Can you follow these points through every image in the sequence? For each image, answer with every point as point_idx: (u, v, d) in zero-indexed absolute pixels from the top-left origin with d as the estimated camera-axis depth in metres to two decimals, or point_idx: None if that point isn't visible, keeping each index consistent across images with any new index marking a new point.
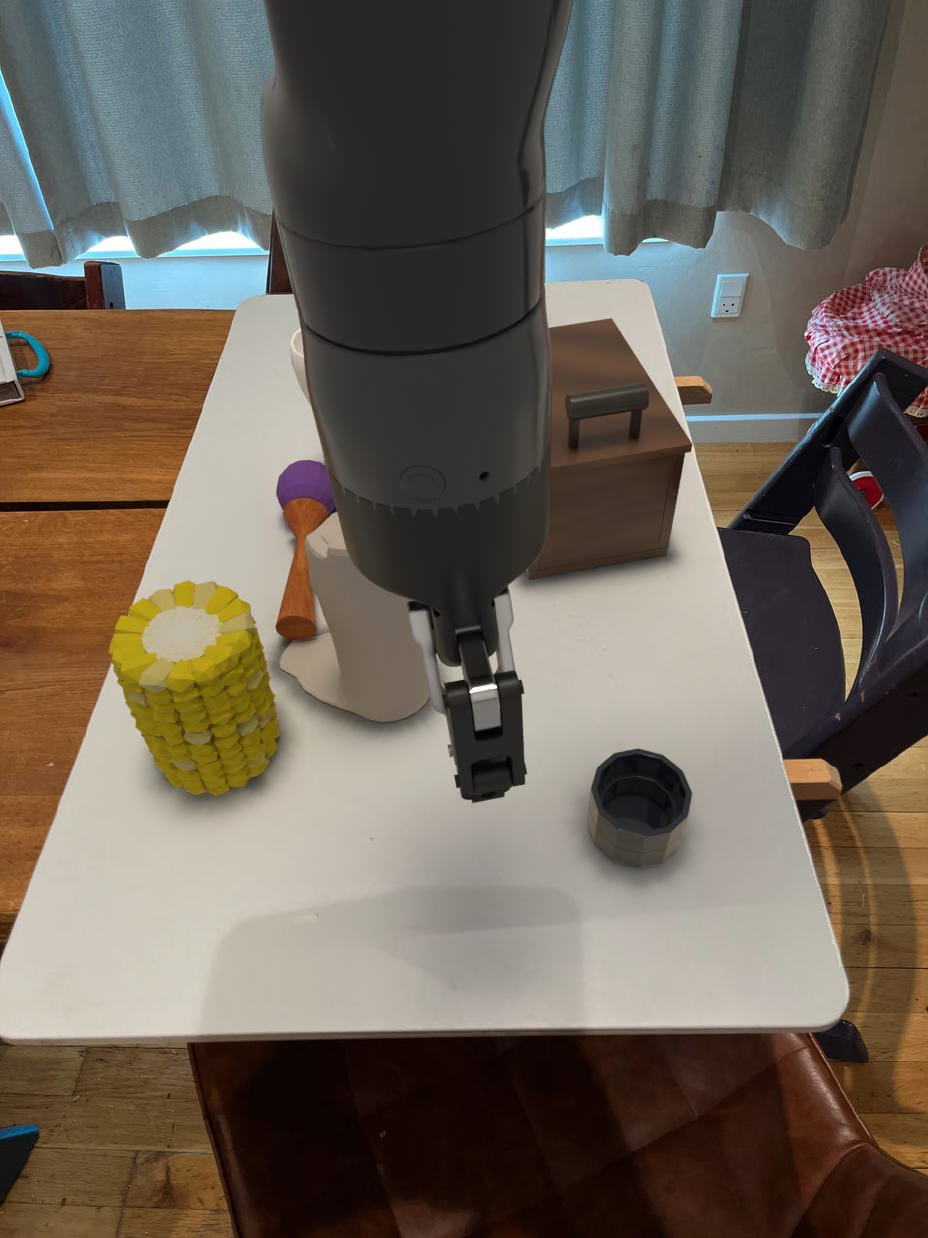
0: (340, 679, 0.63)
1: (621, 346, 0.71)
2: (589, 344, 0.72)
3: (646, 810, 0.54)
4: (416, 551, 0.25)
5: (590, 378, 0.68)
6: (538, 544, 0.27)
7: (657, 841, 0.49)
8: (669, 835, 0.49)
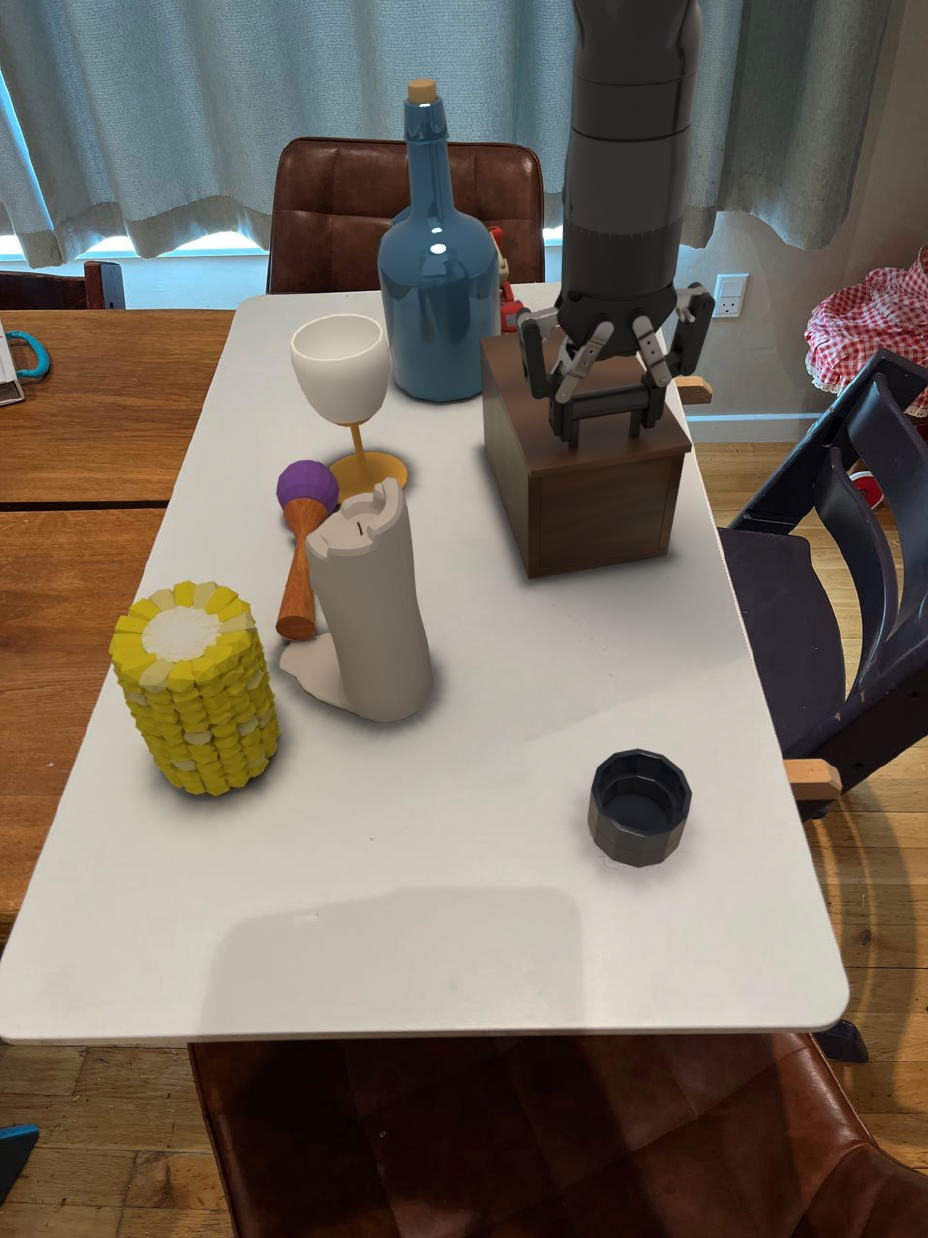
0: (340, 679, 0.63)
1: None
2: None
3: (646, 810, 0.54)
4: None
5: (590, 378, 0.68)
6: (595, 286, 0.50)
7: (657, 841, 0.49)
8: (669, 835, 0.49)
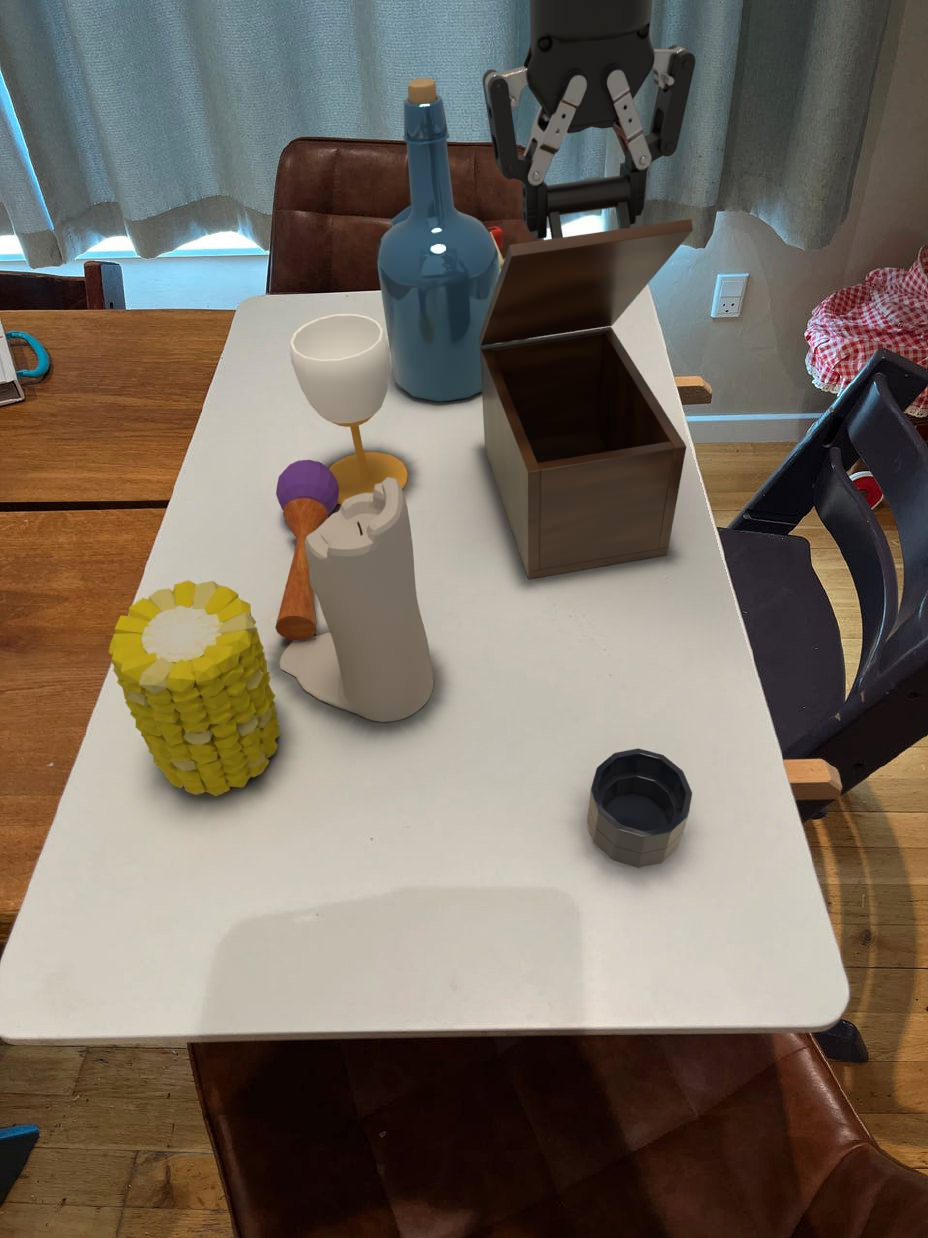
0: (340, 679, 0.63)
1: None
2: None
3: (646, 810, 0.54)
4: None
5: None
6: (564, 21, 0.46)
7: (657, 841, 0.49)
8: (669, 835, 0.49)
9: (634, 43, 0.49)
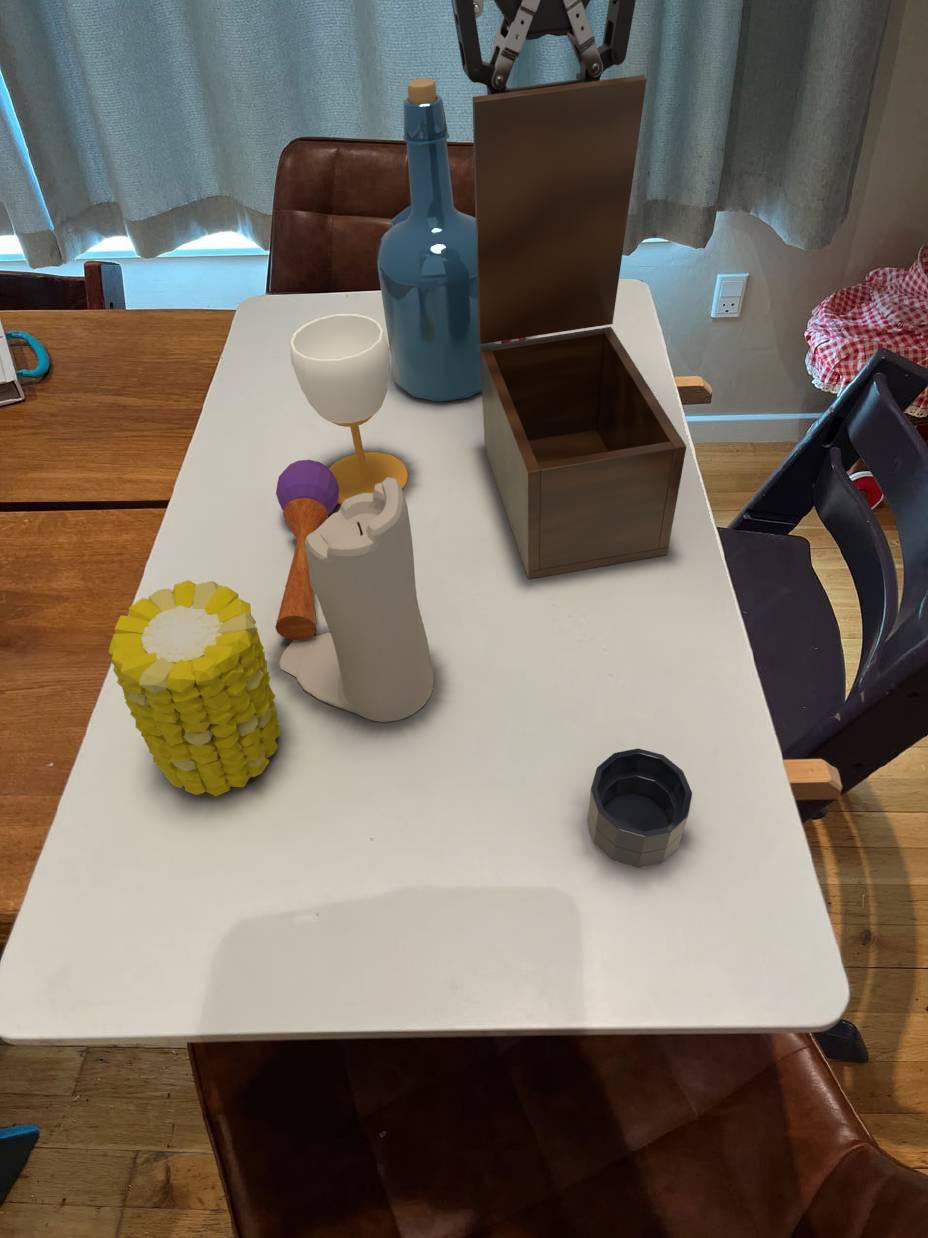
0: (340, 679, 0.63)
1: None
2: None
3: (646, 810, 0.54)
4: None
5: None
6: None
7: (657, 841, 0.49)
8: (669, 835, 0.49)
9: None
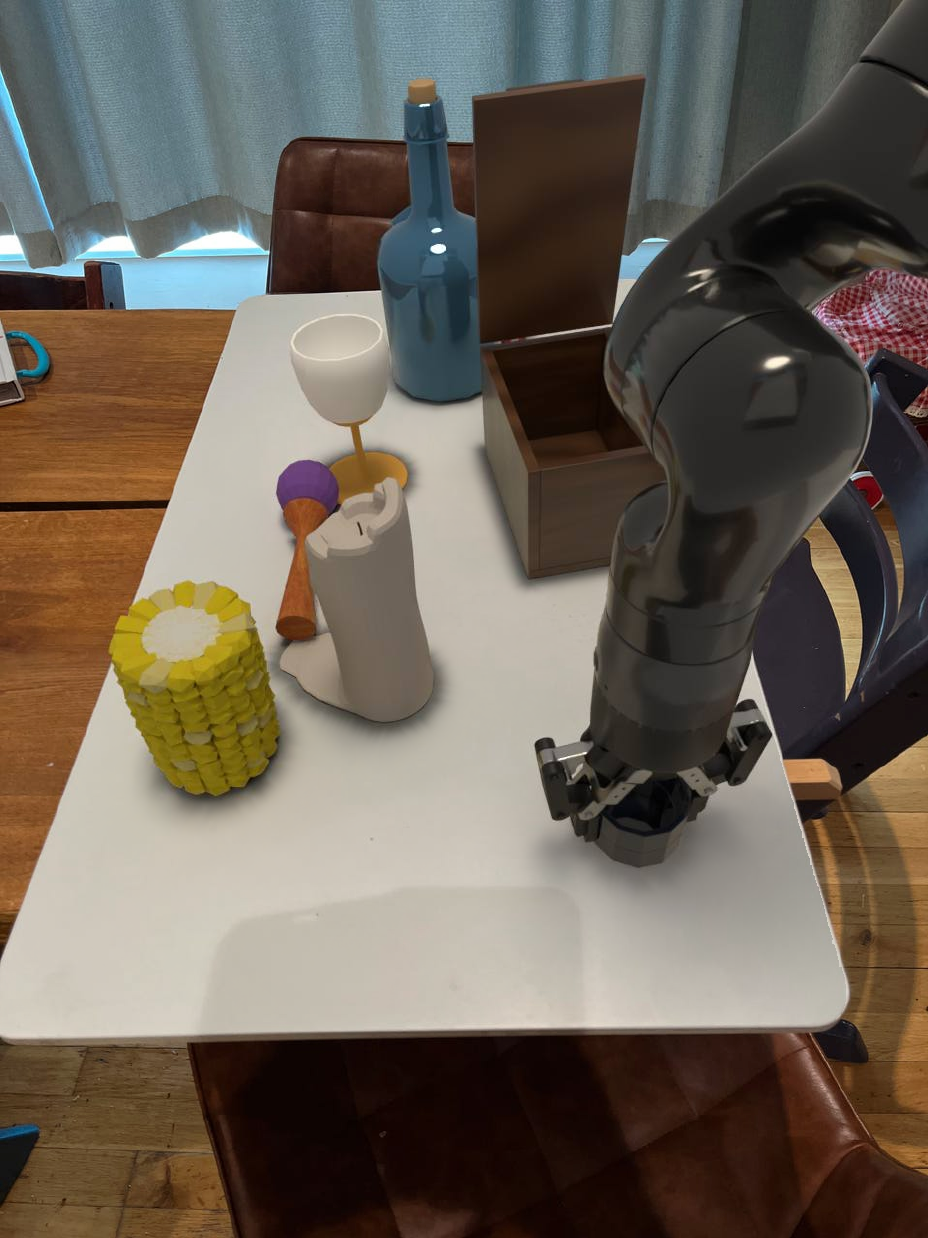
0: (340, 679, 0.63)
1: None
2: None
3: (646, 810, 0.54)
4: None
5: None
6: (632, 759, 0.41)
7: (657, 841, 0.49)
8: (669, 835, 0.49)
9: None
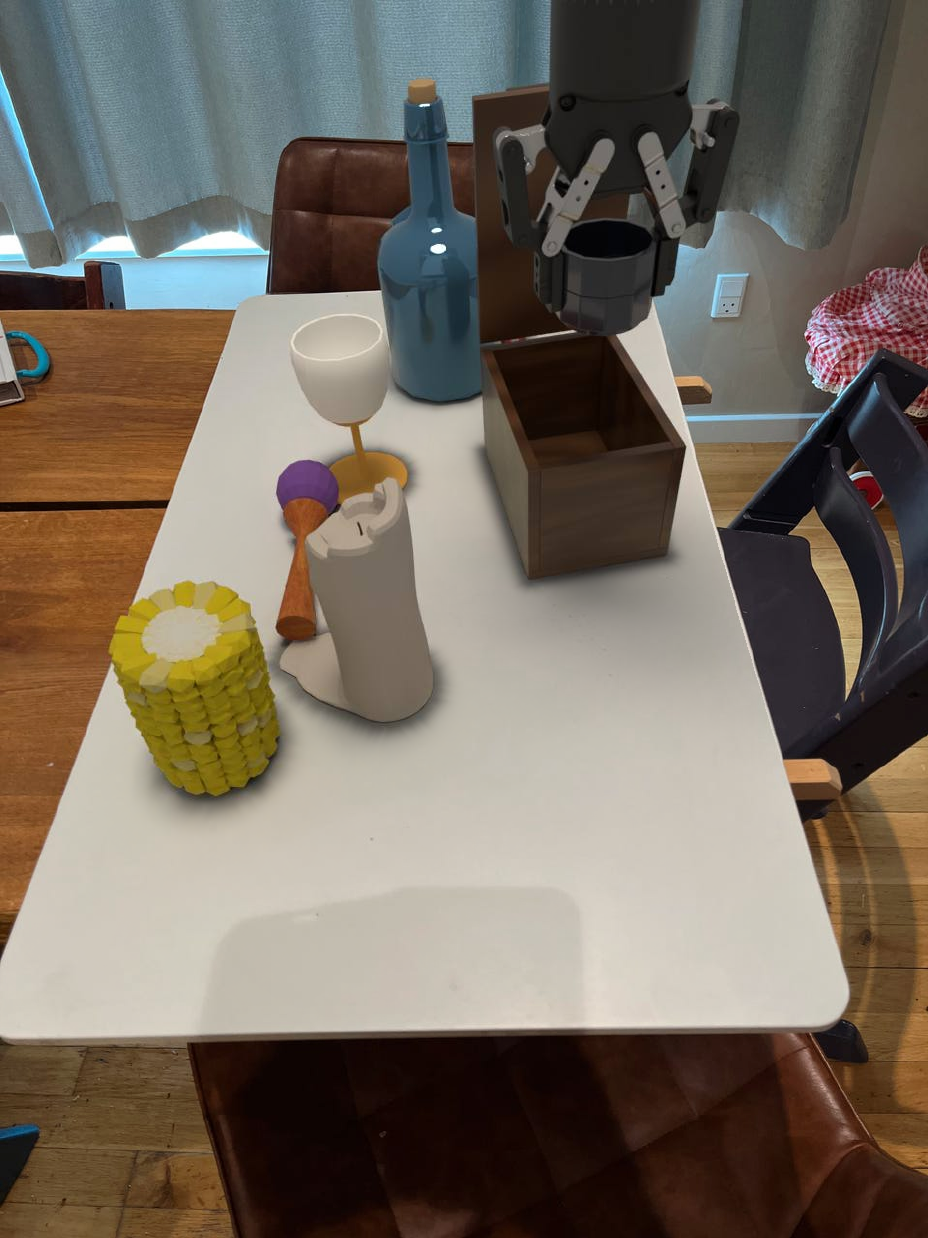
0: (340, 679, 0.63)
1: None
2: None
3: None
4: None
5: None
6: (592, 80, 0.39)
7: (623, 275, 0.47)
8: (636, 265, 0.47)
9: (670, 101, 0.42)
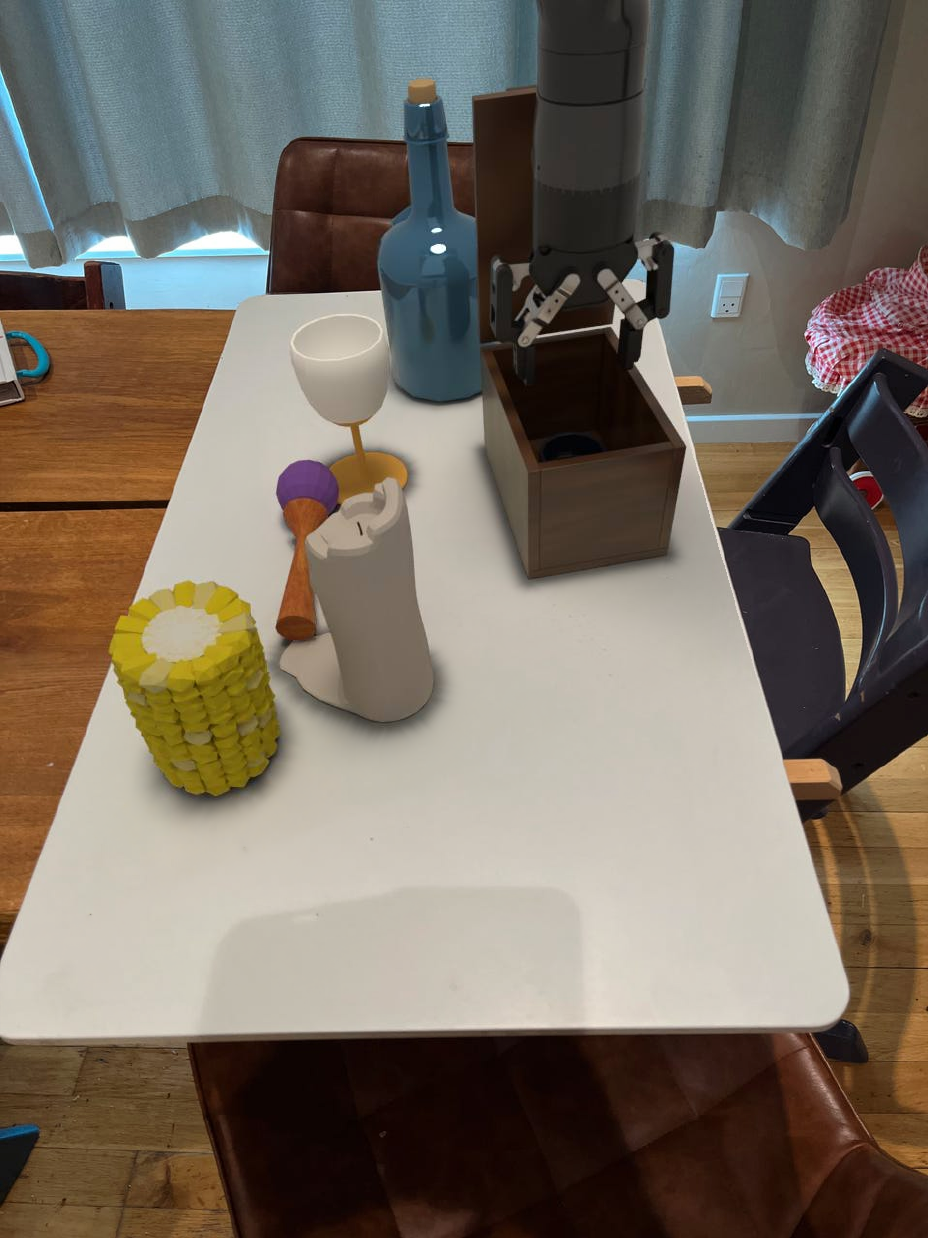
0: (340, 679, 0.63)
1: None
2: None
3: None
4: None
5: None
6: (561, 239, 0.55)
7: None
8: None
9: (618, 248, 0.58)
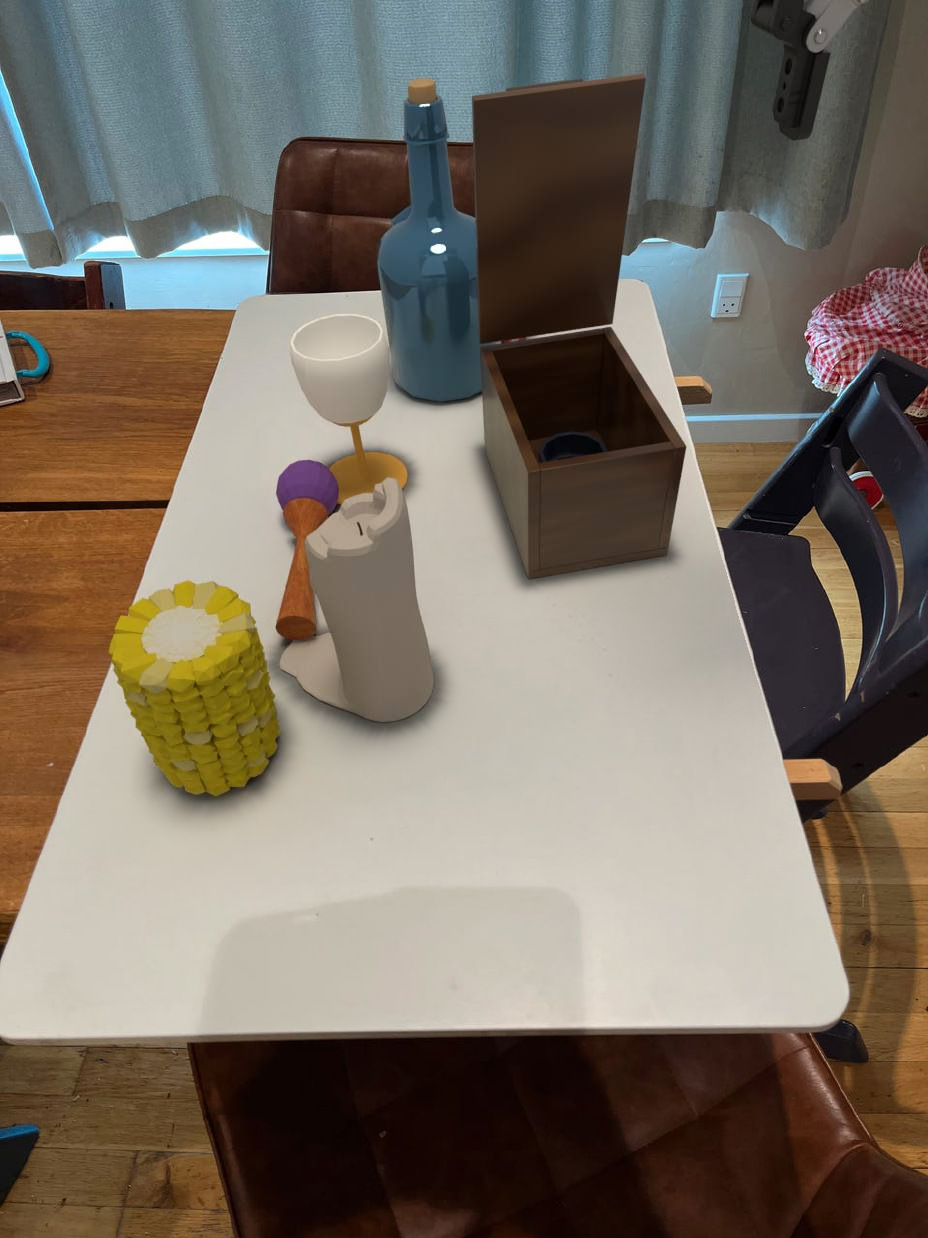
0: (340, 679, 0.63)
1: None
2: None
3: None
4: None
5: None
6: None
7: None
8: None
9: None
